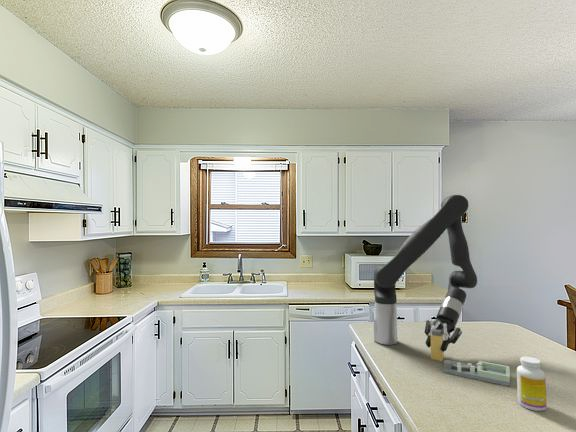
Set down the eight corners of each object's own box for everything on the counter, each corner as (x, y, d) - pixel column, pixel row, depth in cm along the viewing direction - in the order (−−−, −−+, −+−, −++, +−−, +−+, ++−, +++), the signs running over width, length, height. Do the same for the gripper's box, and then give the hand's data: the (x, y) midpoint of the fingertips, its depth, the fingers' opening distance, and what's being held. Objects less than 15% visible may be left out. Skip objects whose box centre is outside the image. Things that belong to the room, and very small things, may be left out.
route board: (443, 372, 116) (443, 363, 116) (447, 363, 123) (447, 354, 123) (510, 386, 105) (509, 376, 105) (509, 375, 113) (509, 365, 113)
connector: (431, 358, 127) (430, 331, 127) (432, 355, 131) (432, 328, 131) (442, 361, 125) (441, 332, 125) (444, 357, 128) (443, 330, 129)
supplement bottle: (551, 413, 90) (550, 365, 91) (524, 410, 92) (523, 363, 92) (538, 400, 97) (537, 355, 97) (513, 398, 98) (512, 354, 98)
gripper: (429, 302, 139) (413, 337, 131) (464, 309, 127) (449, 348, 120) (436, 313, 142) (421, 348, 134) (471, 320, 130) (457, 359, 123)
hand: (434, 348), depth 127 cm, fingers closed on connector, 5 cm apart
